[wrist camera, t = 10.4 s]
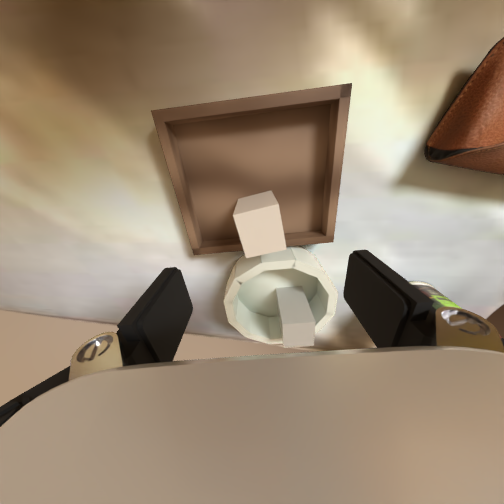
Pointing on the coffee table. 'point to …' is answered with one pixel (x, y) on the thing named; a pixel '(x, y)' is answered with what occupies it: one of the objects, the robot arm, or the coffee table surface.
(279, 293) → the light grey block
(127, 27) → the coffee table surface
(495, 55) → the sunglasses case
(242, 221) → the beige brick
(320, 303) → the celadon bowl
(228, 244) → the walnut tray
